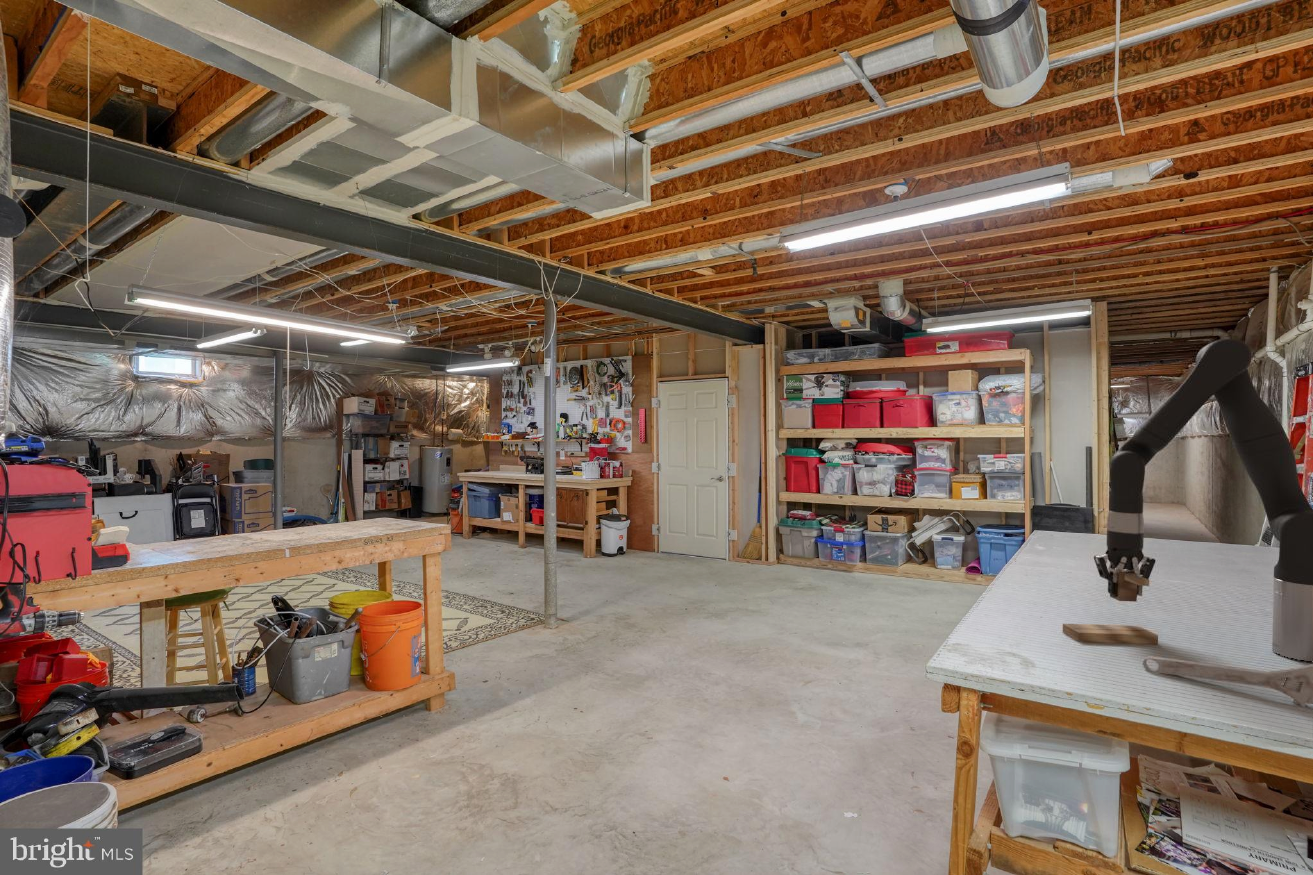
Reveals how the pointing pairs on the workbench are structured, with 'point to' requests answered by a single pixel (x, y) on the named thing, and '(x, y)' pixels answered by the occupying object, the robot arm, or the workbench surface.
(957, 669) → the workbench surface
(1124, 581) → the gauge
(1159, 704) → the workbench surface
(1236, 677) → the wrench
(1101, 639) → the board
